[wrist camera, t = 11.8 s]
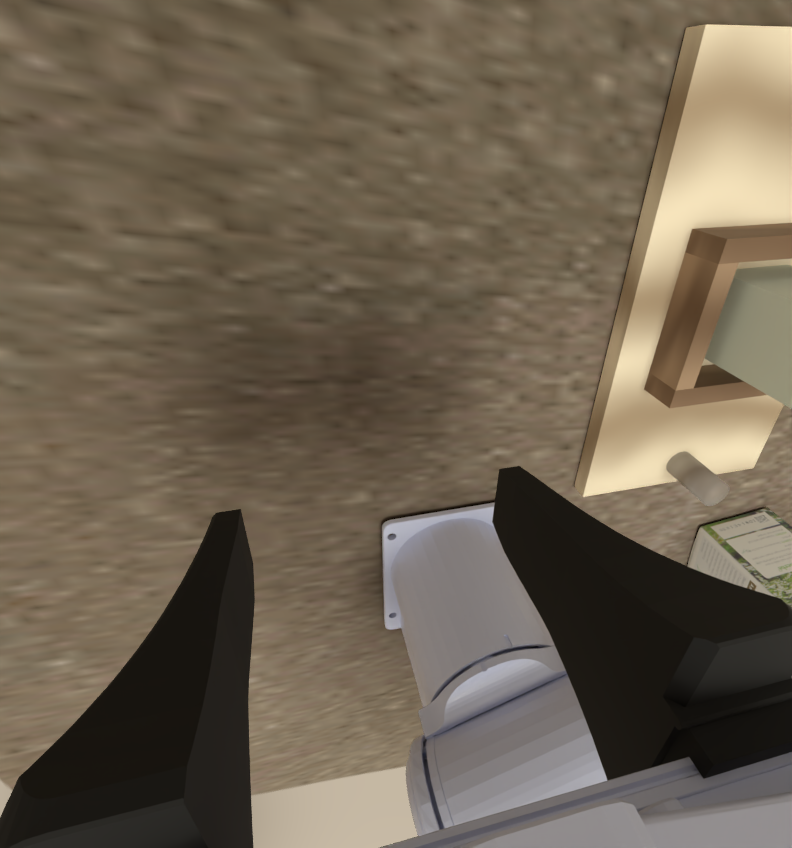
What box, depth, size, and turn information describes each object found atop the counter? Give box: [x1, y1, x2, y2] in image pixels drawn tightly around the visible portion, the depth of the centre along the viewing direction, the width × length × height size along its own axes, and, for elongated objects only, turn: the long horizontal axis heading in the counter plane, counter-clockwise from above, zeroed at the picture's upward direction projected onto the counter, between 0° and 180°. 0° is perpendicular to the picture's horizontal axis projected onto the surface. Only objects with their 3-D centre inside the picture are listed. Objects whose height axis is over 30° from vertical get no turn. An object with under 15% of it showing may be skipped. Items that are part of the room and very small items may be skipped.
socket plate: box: [574, 24, 792, 506], centre depth 24 cm, size 22×12×4 cm, turn 0°
